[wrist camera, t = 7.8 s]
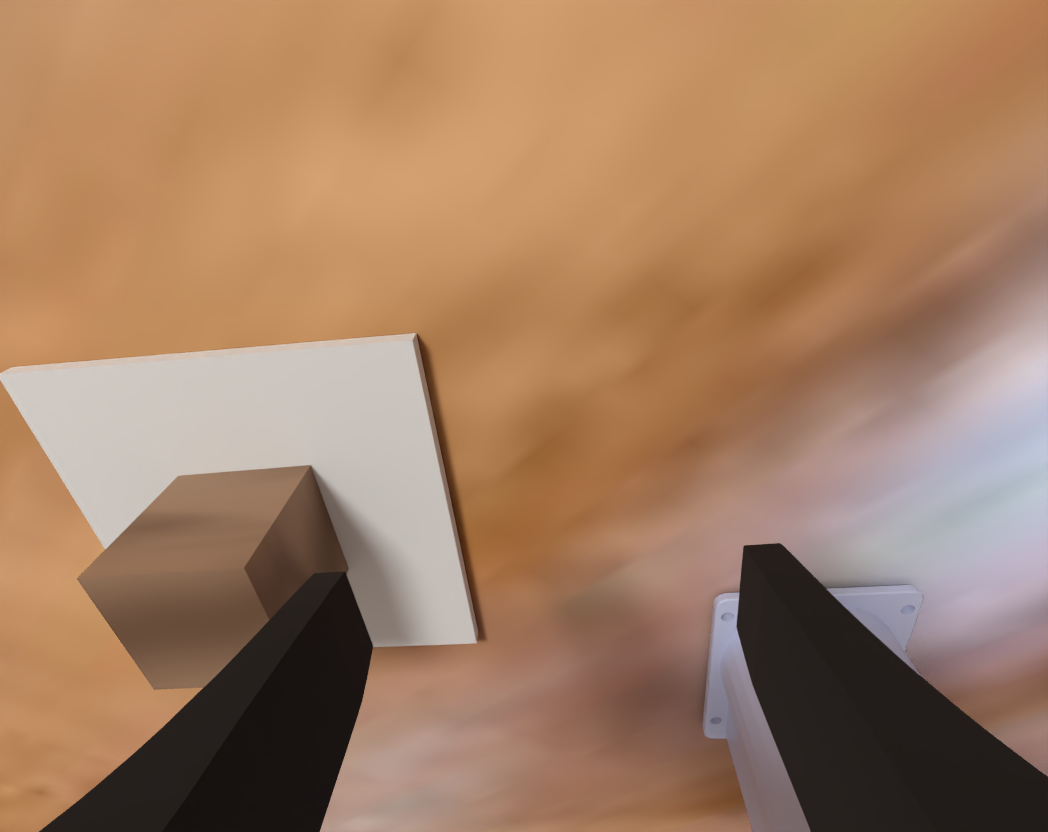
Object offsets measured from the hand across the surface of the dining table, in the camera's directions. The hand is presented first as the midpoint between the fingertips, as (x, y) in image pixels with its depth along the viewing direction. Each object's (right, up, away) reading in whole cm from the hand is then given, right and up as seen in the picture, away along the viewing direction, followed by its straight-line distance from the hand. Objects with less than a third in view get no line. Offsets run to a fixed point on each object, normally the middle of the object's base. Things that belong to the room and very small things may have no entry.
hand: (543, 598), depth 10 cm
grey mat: (-10, -1, +12) cm, 15 cm away
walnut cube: (-10, -1, +11) cm, 15 cm away
